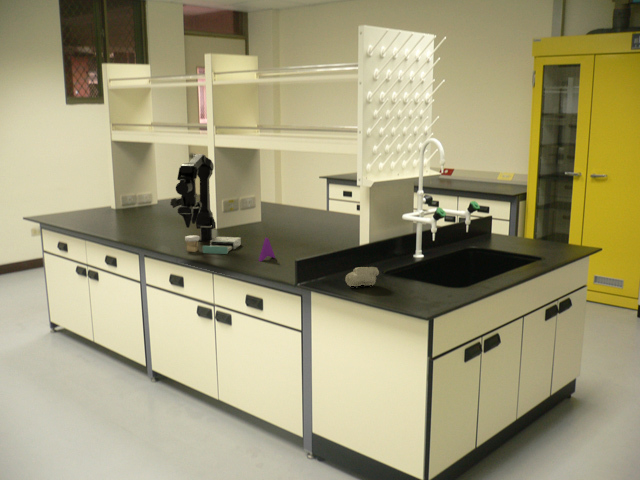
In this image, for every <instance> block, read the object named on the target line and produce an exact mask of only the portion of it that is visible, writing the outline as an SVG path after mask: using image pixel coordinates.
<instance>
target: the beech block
mask: <svg viewBox="0 0 640 480" xmlns="http://www.w3.org/2000/svg"><path fill="white" fill-rule="evenodd" d="M198 251H199V241H195V242H188V241H186V252H193V253H195V252H198Z"/></svg>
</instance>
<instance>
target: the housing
mask: <svg viewBox="0 0 640 480" xmlns="http://www.w3.org/2000/svg"><path fill="white" fill-rule="evenodd" d="M241 239H242V237H233V236H216V237H214V239H212V240H210V241H209V246H211V245H226V246H232V250H236V249H237V248H238V247H240V246H241V242H242V240H241Z"/></svg>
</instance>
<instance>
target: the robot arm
mask: <svg viewBox="0 0 640 480" xmlns="http://www.w3.org/2000/svg"><path fill="white" fill-rule="evenodd" d="M214 166H215V165H214V163H213V161H212V159H210V158H208V157H207V156H206V155H205V154H203V153H202V154H194V156H193V157H192V159H190V160H189V161H188V162H184V163H182V164H181V165H180V166H179V168H178V174H177V181H179V182H178V183H177V184H176V185H175V191H176V193H177V194H178V195H180V196H181V197H179V198H175V197H174V198H171V200H170V202H169V203H170V206H172V208H173V209H175V208H177V207H178V208H177V214H178V215H179V216H182V219H183V221H184V223H185V224H184V225H185V226H186V228H188V229H189V228H190V226H191V223H192V225H193V224H195V226H196V229H197V230H198V229H199V230H200V234H199V235H200V240H199V241H198V242H210V240H212V239H214V238H215V237H214V238H213V230H214V229H215V230H216V224H217V223H216V221H215V219H214V215H213V212H212V211H211V209H210V178H211V177H212V175H213V172H214ZM197 178H198V179H199V200H197V197H198V193H197V190H196V188H197V187H196V184H197V183H196V181H197Z"/></svg>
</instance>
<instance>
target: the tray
mask: <svg viewBox="0 0 640 480" xmlns="http://www.w3.org/2000/svg"><path fill="white" fill-rule="evenodd" d="M231 250H233V245H222V244H217V245H211V246H210V245H202V253H203V254H216V255H217V254H222V255H228V254H229V252H230V251H231Z"/></svg>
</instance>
